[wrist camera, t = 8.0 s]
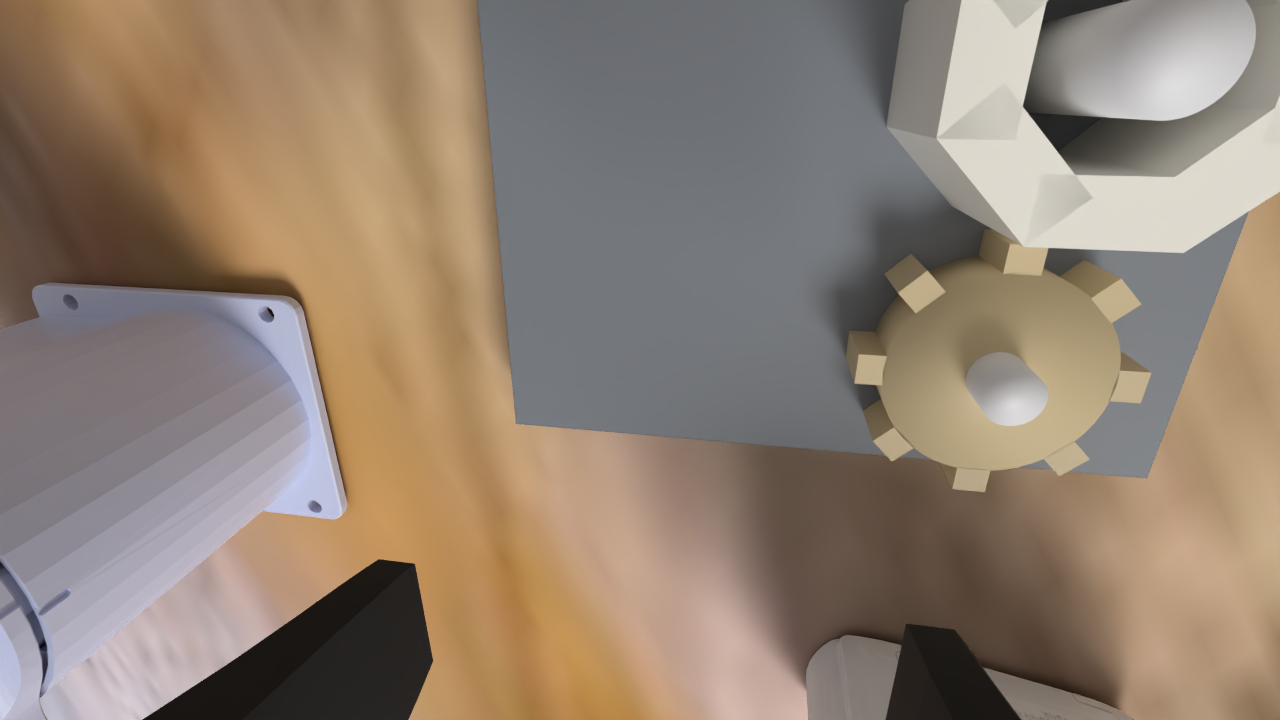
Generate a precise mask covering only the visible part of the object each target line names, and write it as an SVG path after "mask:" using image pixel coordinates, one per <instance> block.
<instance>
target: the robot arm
mask: <svg viewBox="0 0 1280 720" xmlns="http://www.w3.org/2000/svg"><path fill="white" fill-rule="evenodd" d="M32 299H33V302H34V304H35V307H36V309H37V311H38V314H39V316H40V317H38V318H35V319H31V320H28V321H25V322H22V323H18V324H15V325H12V326H9V327H6V328H2V329H0V720H48V719H47V718H46V716H45V714H44V712H43V710H42V707H41V704H40V697H42V696H43V695H44V694H45V693H46V692H48V691H49V690H50V689H51V688H52V687H53V686H55V685H56V684H57V683H58V682H59V681H61V680H62V679H63V678H64V677H65V676H67V675H68V674H69V673H70V672H71V671H73V670H74V669H75V668H76V667H77V666H78V665H80V664H81V663H82V662H83V661H84V660H86V659H87V658H88V657H89V656H90V655H92V654H93V653H94V652H95V651H96V650H98V649H99V648H100V647H101V646H102V645H103V644H105V643H106V642H107V641H108V640H109V639H111V638H112V637H113V636H114V635H115V634H117V633H118V632H119V631H120V630H121V629H123V628H124V627H125V626H126V625H127V624H128V623H130V622H131V621H132V620H133V619H134V618H136V617H137V616H138V615H139V614H140V613H142V612H143V611H144V610H145V609H146V608H148V607H149V606H150V605H151V604H152V603H153V602H155V601H156V600H157V599H158V598H159V597H161V596H162V595H163V594H164V593H165V592H167V591H168V590H169V589H170V588H171V587H173V586H174V585H175V584H176V583H177V582H178V581H180V580H181V579H182V578H183V577H184V576H186V575H187V574H188V573H189V572H190V571H192V570H193V569H194V568H195V567H196V566H198V565H199V564H200V563H201V562H202V561H203V560H205V559H206V558H207V557H208V556H209V555H211V554H212V553H213V552H214V551H215V550H217V549H218V548H219V547H220V546H221V545H223V544H224V543H225V542H226V541H227V540H229V539H230V538H231V537H232V536H233V535H234V534H236V533H237V532H238V531H239V530H240V529H242V528H243V527H244V526H245V525H246V524H248V523H249V522H250V521H251V520H252V519H254V518H255V517H256V516H257V515H258V514H259V513H261V512H262V511H267V512H275V513H284V514H292V515H301V516H309V517H318V518H326V519H337V518H339V517H340V516H341V515H342V514H343V513H344V512H345V511H346V509H347V501H346V496H345V492H344V488H343V483H342V479H341V474H340V470H339V465H338V461H337V457H336V452H335V448H334V443H333V439H332V435H331V430H330V426H329V421H328V417H327V413H326V408H325V404H324V399H323V395H322V391H321V386H320V382H319V377H318V373H317V369H316V364H315V360H314V355H313V351H312V347H311V342H310V338H309V333H308V329H307V324H306V320H305V316H304V312H303V309H302V307H301V305H300V304H299V303H298V302H297V301H296V300H295V299H293V298H292V297H288V296H282V295H264V294H246V293H228V292H210V291H192V290H174V289H156V288H138V287H120V286H102V285H84V284H66V283H45V284H41V285H38V286H35V287H34V288H33V290H32ZM268 307H269V308H270V309H271V310H272V311H273V314H274V317H273V316H272V315H270V313H269V311H268ZM316 501H317V502H318V503H319V504H318V503H317V502H316ZM432 662H433V658H432V653H431V647H430V642H429V637H428V631H427V626H426V621H425V615H424V610H423V605H422V599H421V594H420V589H419V584H418V578H417V573H416V568H415V564H412V563H404V562H396V561H388V560H377V561H376V562H374V563H373V564H371V565H369V566H368V567H366V568H365V569H363V570H362V571H360V572H359V573H358V574H356V575H355V576H353V577H352V578H350V579H349V580H347V581H346V582H345V583H343V584H342V585H340V586H339V587H337V588H336V589H335V590H333V591H332V592H330V593H329V594H328V595H326V596H325V597H323V598H322V599H321V600H319V601H318V602H316V603H315V604H313V605H312V606H311V607H309V608H308V609H306V610H305V611H304V612H302V613H301V614H299V615H298V616H297V617H295V618H294V619H292V620H291V621H289V622H288V623H287V624H285V625H284V626H282V627H281V628H279V629H278V630H276V631H275V632H274V633H272V634H271V635H269V636H268V637H266V638H265V639H264V640H262V641H261V642H259V643H258V644H256V645H255V646H253V647H252V648H251V649H249V650H248V651H246V652H245V653H243V654H242V655H241V656H239V657H238V658H236V659H235V660H233V661H232V662H230V663H229V664H227V665H226V666H224V667H223V668H221V669H220V670H218V671H217V672H215V673H214V674H212V675H210V676H209V677H207V678H206V679H204V680H203V681H201V682H200V683H198V684H197V685H195V686H194V687H192V688H190V689H189V690H187V691H186V692H184V693H183V694H181V695H180V696H178V697H177V698H175V699H174V700H172V701H171V702H169V703H167V704H166V705H164V706H163V707H161V708H160V709H158V710H157V711H155V712H154V713H152V714H151V715H149V716H147V717H146V718H144V719H143V720H408V719H409V717H410V715H411V712H412V710H413V708H414V706H415V703H416V701H417V699H418V696H419V694H420V692H421V689H422V687H423V684H424V682H425V679H426V677H427V674H428V672H429V670H430V667H431V665H432ZM885 720H1021V718H1020V717H1019V716H1018V714H1017V713H1016V712H1015V710H1014V709H1013V708H1012V706H1011V705H1010V704H1009V702H1008V701H1007V700H1006V698H1005V697H1004V696H1003V694H1002V693H1001V692H1000V690H999V689H998V687H997V686H996V685H995V683H994V682H993V681H992V679H991V678H990V677H989V675H988V674H987V672H986V671H985V670H984V668H983V667H982V666H981V664H980V663H979V661H978V660H977V659H976V657H975V656H974V655H973V653H972V652H971V650H970V649H969V648H968V646H967V645H966V644H965V642H964V641H963V640H962V638H961V637H960V636H959V635H958V633H957V632H956V631H955V630H952V629H944V628H936V627H928V626H920V625H911V624H906V628H905V632H904V637H903V641H902V646H901V651H900V655H899V660H898V664H897V669H896V674H895V678H894V683H893V687H892V692H891V697H890V701H889V706H888V710H887V715H886V719H885Z"/></svg>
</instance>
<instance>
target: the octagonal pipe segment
mask: <svg viewBox="0 0 1280 720" xmlns="http://www.w3.org/2000/svg"><path fill="white" fill-rule="evenodd" d="M1047 1H1048V0H909V1H908V2H907V3H906V4H905V5H904V12H903V18H902V25H901V32H900V38H899V45H898V52H897V58H896V65H895V72H894V78H893V85H892V92H891V98H890V105H889V112H888V118H887V125H886V127H887V128H888V129H889V131H890V132H891V133H892V134H893V135H894V137H895V138H896V139H897V140H898V142H899V143H900V144H901V145H902V146H903V148H904V149H905V150H906V151H907V152H908V154H909V155H910V156H911V157H912V159H913V160H914V161H915V162H916V163H917V165H918V166H919V167H920V168H921V170H922V171H923V172H924V173H925V174H926V176H927V177H928V178H929V179H930V180H931V182H932V183H933V184H934V185H935V187H936V188H937V189H938V190H939V191H940V193H941V194H942V195H943V196H944V198H945V199H946V200H947V201H948V202H949V204H950V205H951V206H952V207H954V208H956V209H958V210H960V211H961V212H963V213H965V214H967V215H968V216H970V217H972V218H974V219H975V220H977V221H979V222H981V223H982V224H984V225H986V226H988V227H990V228H991V229H993V230H995V231H997V232H998V233H1000V234H1002V235H1004V236H1005V237H1007V238H1009V239H1011V240H1012V241H1014V242H1016V243H1018V244H1019V245H1021V246H1023V247H1040V248H1065V249H1091V250H1117V251H1143V252H1169V253H1184V252H1186V251H1188V250H1189V249H1191V248H1192V247H1194V246H1195V245H1197V244H1199V243H1200V242H1202V241H1203V240H1205V239H1206V238H1208V237H1209V236H1211V235H1213V234H1214V233H1216V232H1217V231H1219V230H1220V229H1222V228H1223V227H1225V226H1227V225H1228V224H1230V223H1231V222H1233V221H1234V220H1236V219H1238V218H1239V217H1241V216H1242V215H1244V214H1245V213H1247V212H1248V211H1250V210H1252V209H1253V208H1255V207H1256V206H1258V205H1259V204H1261V203H1262V202H1264V201H1266V200H1267V199H1269V198H1270V197H1272V196H1273V195H1275V194H1277V193H1278V192H1280V0H1245V1H1246V2H1247V3H1248V5H1249V6H1250V8H1251V10H1252V12H1253V15H1254V18H1255V25H1256V38H1255V45H1254V49H1253V52H1252V55H1251V58H1250V60H1249V63H1248V64H1247V66H1246V68H1245V70H1244V72H1243V73H1242V75H1241V76H1240V78H1239V79H1238V80H1237V82H1236V83H1235V84H1234V85H1233V86H1232V87H1231V89H1230V90H1228V91H1227V92H1226V93H1225V94H1224V95H1223V96H1222V97H1221V98H1220V99H1218V100H1217V101H1216V102H1214V103H1213V104H1211V105H1210V106H1208V107H1207V108H1205V109H1203V110H1201V111H1199V112H1197V113H1195V114H1192V115H1190V116H1187V117H1184V118H1180V119H1175V120H1168V121H1156V120H1140V119H1124V118H1108V117H1103V118H1101V119H1100V120H1099V121H1097V122H1096V123H1095V124H1093V125H1092V126H1091V127H1089V128H1088V129H1087V130H1085V131H1084V132H1083V133H1081V134H1080V135H1079V136H1078V137H1076V138H1075V139H1074V140H1072V141H1071V142H1070V143H1068V144H1067V145H1066V146H1064V147H1063V148H1062V149H1060V150H1059V151H1058V152H1057V151H1056V149H1055V148H1054V147H1053V145H1052V144H1051V143H1050V141H1049V140H1048V139H1047V138H1046V136H1045V135H1044V134H1043V132H1042V131H1041V130H1040V128H1039V127H1038V126H1037V124H1036V123H1035V122H1034V121H1033V119H1032V118H1031V117H1030V115H1029V114H1028V113H1027V111H1026V110H1025V109H1024V108H1023V103H1024V99H1025V94H1026V90H1027V86H1028V81H1029V77H1030V73H1031V68H1032V64H1033V59H1034V55H1035V51H1036V46H1037V42H1038V38H1039V33H1040V29H1041V24H1042V20H1043V16H1044V11H1045V7H1046V3H1047ZM1122 1H1123V2H1126V1H1130V0H1122Z"/></svg>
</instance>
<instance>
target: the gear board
mask: <svg viewBox="0 0 1280 720" xmlns="http://www.w3.org/2000/svg"><path fill="white" fill-rule="evenodd" d="M908 1H909V0H477V3H478V14H479V25H480V36H481V47H482V58H483V69H484V79H485V90H486V101H487V112H488V123H489V134H490V145H491V156H492V167H493V178H494V189H495V200H496V211H497V222H498V233H499V244H500V254H501V265H502V276H503V287H504V298H505V309H506V320H507V331H508V342H509V353H510V364H511V375H512V386H513V397H514V408H515V418H516V424H525V425H536V426H548V427H559V428H571V429H582V430H594V431H605V432H617V433H628V434H640V435H652V436H663V437H675V438H686V439H698V440H709V441H721V442H732V443H744V444H755V445H767V446H778V447H790V448H802V449H813V450H825V451H836V452H848V453H859V454H871V455H882V456H887V457H888V458H889V459H890V460H891V461H894V460H896V459H897V458H899V457H905V458H917V459H929V460H935V461H937V462H939V463H940V465H941V467H942V469H943V471H944V473H945V475H946V477H947V479H948V481H949V483H950V486H951V488H952V489H957V490H967V491H978V492H985V489H986V486H987V482H988V478H989V474H990V471H993V470H1005V469H1011V468H1017V467H1021V468H1032V469H1044V470H1054V471H1055V472H1056V473H1057V475H1058V476H1061V475H1063V474H1064V473H1066V472H1079V473H1090V474H1102V475H1113V476H1125V477H1136V478H1147V477H1148V474H1149V472H1150V469H1151V467H1152V464H1153V461H1154V459H1155V456H1156V453H1157V451H1158V448H1159V446H1160V443H1161V440H1162V438H1163V435H1164V432H1165V430H1166V427H1167V425H1168V422H1169V419H1170V417H1171V414H1172V411H1173V409H1174V406H1175V404H1176V401H1177V398H1178V396H1179V393H1180V390H1181V388H1182V385H1183V383H1184V380H1185V377H1186V375H1187V372H1188V370H1189V367H1190V364H1191V362H1192V359H1193V356H1194V354H1195V351H1196V349H1197V346H1198V343H1199V341H1200V338H1201V335H1202V333H1203V330H1204V328H1205V325H1206V322H1207V320H1208V317H1209V314H1210V312H1211V309H1212V307H1213V304H1214V301H1215V299H1216V296H1217V293H1218V291H1219V288H1220V286H1221V283H1222V280H1223V278H1224V275H1225V272H1226V270H1227V267H1228V265H1229V262H1230V259H1231V257H1232V254H1233V251H1234V249H1235V246H1236V244H1237V241H1238V238H1239V236H1240V233H1241V230H1242V228H1243V225H1244V223H1245V220H1246V217H1247V215H1248V212H1249V211H1248V212H1247V213H1245V214H1244V215H1242V216H1241V217H1239V218H1238V219H1236V220H1234V221H1233V222H1231V223H1230V224H1228V225H1227V226H1225V227H1223V228H1222V229H1220V230H1219V231H1217V232H1216V233H1214V234H1213V235H1211V236H1209V237H1208V238H1206V239H1205V240H1203V241H1202V242H1200V243H1199V244H1197V245H1195V246H1194V247H1192V248H1191V249H1189V250H1188V251H1186V252H1184V253H1169V252H1143V251H1117V250H1091V249H1065V248H1040V247H1023V246H1021V245H1019V244H1018V243H1016V242H1014V241H1012V240H1011V239H1009V238H1007V237H1005V236H1004V235H1002V234H1000V233H998V232H997V231H995V230H993V229H991V228H990V227H988V226H986V225H984V224H982V223H981V222H979V221H977V220H975V219H974V218H972V217H970V216H968V215H967V214H965V213H963V212H961V211H960V210H958V209H956V208H954V207H952V206H951V205H950V204H949V202H948V201H947V200H946V199H945V198H944V196H943V195H942V194H941V193H940V191H939V190H938V189H937V188H936V187H935V185H934V184H933V183H932V182H931V180H930V179H929V178H928V177H927V176H926V174H925V173H924V172H923V171H922V170H921V168H920V167H919V166H918V165H917V163H916V162H915V161H914V160H913V159H912V157H911V156H910V155H909V154H908V152H907V151H906V150H905V149H904V148H903V146H902V145H901V144H900V143H899V142H898V140H897V139H896V138H895V137H894V135H893V134H892V133H891V132H890V131H889V129H888V128H887V127H886V125H887V118H888V112H889V105H890V98H891V92H892V85H893V78H894V72H895V65H896V58H897V52H898V45H899V38H900V32H901V25H902V18H903V12H904V5H905V4H906V3H907V2H908ZM1255 38H1256V25H1255V18H1254V15H1253V12H1252V10H1251V8H1250V6H1249V5H1248V3H1247V2H1246V1H1245V0H1130V1H1126V2H1123V1H1122V0H1048V1H1047V3H1046V7H1045V11H1044V16H1043V20H1042V24H1041V29H1040V33H1039V38H1038V42H1037V46H1036V51H1035V55H1034V59H1033V64H1032V68H1031V73H1030V77H1029V81H1028V86H1027V90H1026V94H1025V99H1024V103H1023V108H1024V109H1025V110H1026V111H1027V113H1028V114H1029V115H1030V117H1031V118H1032V119H1033V121H1034V122H1035V123H1036V124H1037V126H1038V127H1039V128H1040V130H1041V131H1042V132H1043V134H1044V135H1045V136H1046V138H1047V139H1048V140H1049V141H1050V143H1051V144H1052V145H1053V147H1054V148H1055V149H1056V151H1057V152H1058V151H1059V150H1060V149H1062V148H1063V147H1064V146H1066V145H1067V144H1068V143H1070V142H1071V141H1072V140H1074V139H1075V138H1076V137H1078V136H1079V135H1080V134H1081V133H1083V132H1084V131H1085V130H1087V129H1088V128H1089V127H1091V126H1092V125H1093V124H1095V123H1096V122H1097V121H1099V120H1100V119H1101V118H1103V117H1108V118H1124V119H1140V120H1156V121H1168V120H1175V119H1180V118H1184V117H1187V116H1190V115H1192V114H1195V113H1197V112H1199V111H1201V110H1203V109H1205V108H1207V107H1208V106H1210V105H1211V104H1213V103H1214V102H1216V101H1217V100H1218V99H1220V98H1221V97H1222V96H1223V95H1224V94H1225V93H1226V92H1227V91H1228V90H1230V89H1231V87H1232V86H1233V85H1234V84H1235V83H1236V82H1237V80H1238V79H1239V78H1240V76H1241V75H1242V73H1243V72H1244V70H1245V68H1246V66H1247V64H1248V63H1249V60H1250V58H1251V55H1252V52H1253V49H1254V45H1255Z"/></svg>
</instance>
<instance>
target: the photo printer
mask: <svg viewBox="0 0 1280 720" xmlns="http://www.w3.org/2000/svg"><path fill="white" fill-rule="evenodd" d="M901 646H902V645H899V644H895V643H890V642H886V641H882V640H877V639H872V638H867V637H860V636H852V635H846V636H842V637H841V638H840V639H834V640H831V641H829V642H828V643H826V644H825V645H823V646H822V647H821V648H820V649H819V650H818V651H817V652H816V653H815V654H814V655H813V657H812V658H811V660H810V662H809V664H808V667H807V670H806V689H807V705H808V720H885V719H886V715H887V710H888V706H889V701H890V697H891V692H892V687H893V683H894V678H895V674H896V669H897V664H898V660H899V655H900V651H901ZM984 670H985V671H986V672H987V674H988V675H989V677H990V678H991V679H992V681H993V682H994V683H995V685H996V686H997V687H998V689H999V690H1000V692H1001V693H1002V694H1003V696H1004V697H1005V698H1006V700H1007V701H1008V702H1009V704H1010V705H1011V706H1012V708H1013V709H1014V710H1015V712H1016V713H1017V714H1018V716H1019V717H1020V718H1021V720H1134V719H1133V718H1132V717H1130V716H1129V715H1127V714H1126V713H1124V712H1122V711H1120V710H1118V709H1116V708H1113V707H1111V706H1109V705H1106V704H1104V703H1101V702H1099V701H1096V700H1093V699H1090V698H1087V697H1084V696H1081V695H1078V694H1075V693H1070V692H1067V691H1064V690H1060V689H1057V688H1054V687H1050V686H1047V685H1043V684H1040V683H1036V682H1033V681H1029V680H1026V679H1022V678H1019V677H1015V676H1012V675H1009V674H1005V673H1001V672H998V671H994V670H991V669H987V668H984Z"/></svg>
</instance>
